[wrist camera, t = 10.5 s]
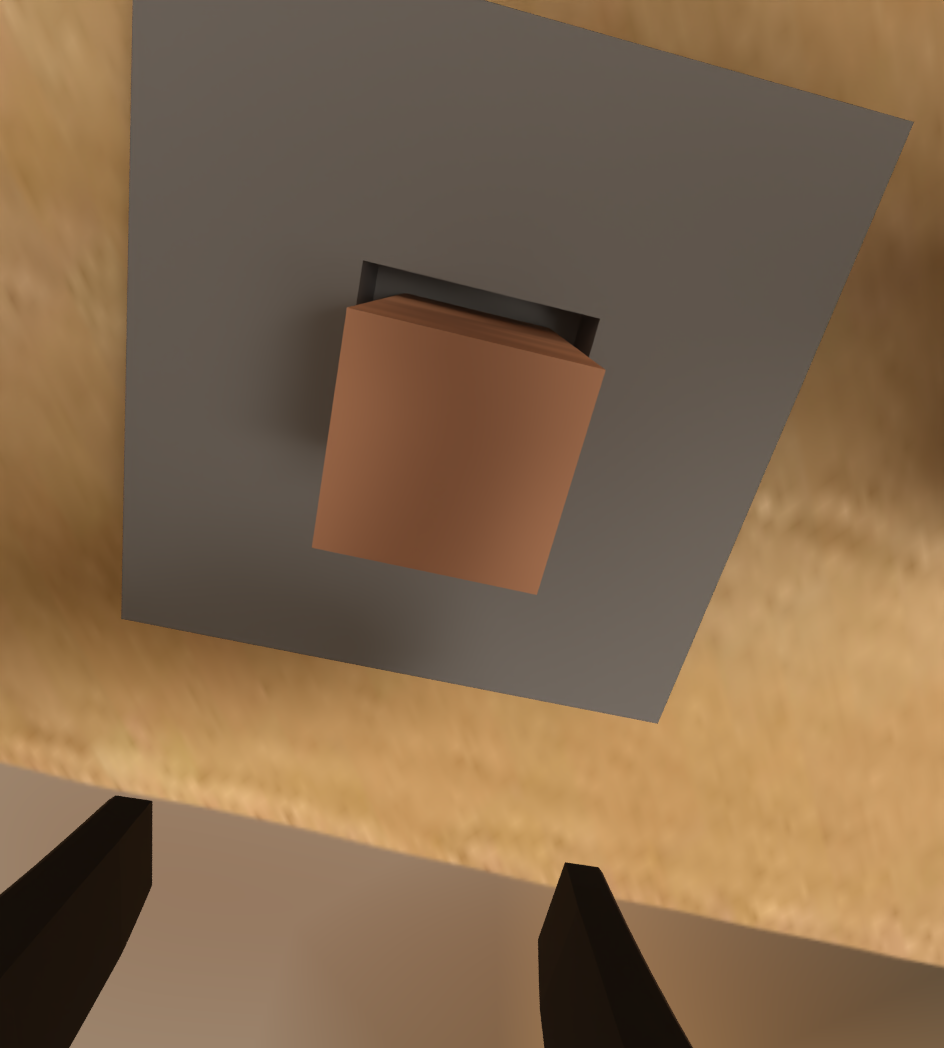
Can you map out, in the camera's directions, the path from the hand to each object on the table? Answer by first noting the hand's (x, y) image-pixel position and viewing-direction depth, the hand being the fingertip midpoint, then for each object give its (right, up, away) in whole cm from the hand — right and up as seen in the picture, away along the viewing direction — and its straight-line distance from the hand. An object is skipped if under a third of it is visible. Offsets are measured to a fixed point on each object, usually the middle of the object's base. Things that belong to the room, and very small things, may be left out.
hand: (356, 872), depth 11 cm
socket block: (+2, +10, +7) cm, 12 cm away
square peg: (+2, +10, +7) cm, 12 cm away
